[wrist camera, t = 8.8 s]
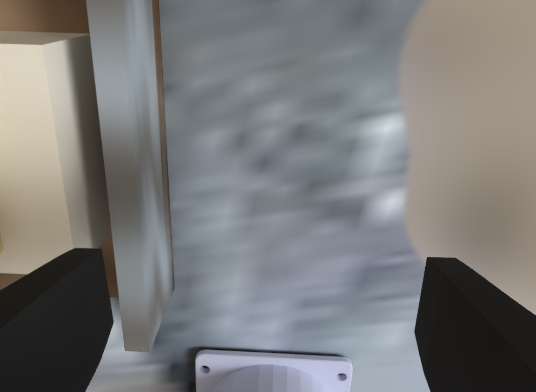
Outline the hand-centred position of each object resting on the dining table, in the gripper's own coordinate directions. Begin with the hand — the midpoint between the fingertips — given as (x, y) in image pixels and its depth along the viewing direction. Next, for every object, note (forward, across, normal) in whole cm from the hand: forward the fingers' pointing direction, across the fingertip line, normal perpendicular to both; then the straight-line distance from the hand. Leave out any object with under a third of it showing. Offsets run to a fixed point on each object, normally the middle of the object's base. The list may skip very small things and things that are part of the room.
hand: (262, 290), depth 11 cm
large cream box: (+9, +9, 0) cm, 13 cm away
